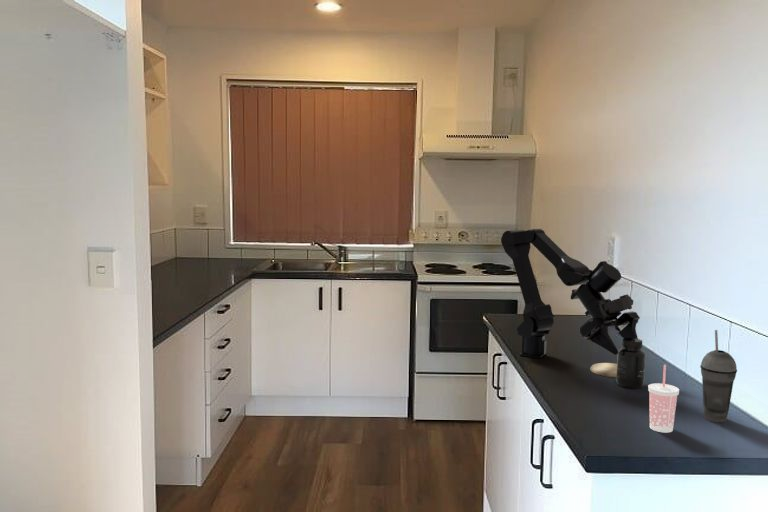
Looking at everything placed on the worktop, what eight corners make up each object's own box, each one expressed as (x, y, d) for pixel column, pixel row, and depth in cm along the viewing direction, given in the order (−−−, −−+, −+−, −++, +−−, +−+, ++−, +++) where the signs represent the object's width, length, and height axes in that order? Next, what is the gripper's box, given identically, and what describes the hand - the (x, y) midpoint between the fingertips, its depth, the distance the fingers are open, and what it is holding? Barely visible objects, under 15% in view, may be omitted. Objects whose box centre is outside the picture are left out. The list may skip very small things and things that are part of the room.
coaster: (586, 373, 174) (586, 370, 174) (594, 363, 184) (594, 360, 184) (631, 380, 169) (631, 377, 169) (637, 369, 179) (637, 366, 179)
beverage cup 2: (719, 427, 137) (726, 336, 134) (689, 416, 143) (695, 329, 141) (740, 421, 140) (747, 332, 138) (710, 410, 146) (716, 326, 144)
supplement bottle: (646, 389, 161) (649, 343, 159) (618, 388, 162) (620, 342, 161) (641, 381, 168) (643, 337, 166) (614, 379, 169) (616, 335, 168)
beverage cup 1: (666, 422, 139) (670, 360, 138) (682, 433, 133) (687, 368, 131) (640, 423, 138) (643, 361, 137) (655, 434, 132) (659, 369, 131)
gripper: (590, 288, 162) (625, 339, 154) (635, 282, 172) (670, 329, 165) (564, 313, 170) (597, 363, 162) (609, 306, 180) (642, 352, 172)
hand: (628, 351), depth 165 cm, fingers open, 9 cm apart
